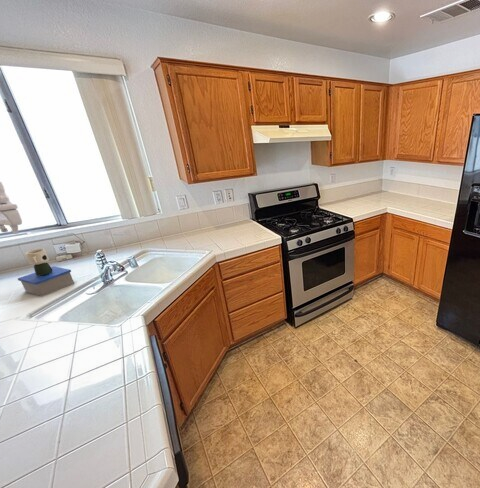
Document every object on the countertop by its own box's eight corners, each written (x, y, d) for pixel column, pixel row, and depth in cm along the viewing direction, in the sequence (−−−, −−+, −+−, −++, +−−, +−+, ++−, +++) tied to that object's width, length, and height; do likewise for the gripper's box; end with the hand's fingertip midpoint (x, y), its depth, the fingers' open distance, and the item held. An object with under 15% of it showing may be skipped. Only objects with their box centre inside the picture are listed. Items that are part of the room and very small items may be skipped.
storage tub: (41, 296, 133) (34, 282, 130) (24, 292, 137) (17, 278, 134) (76, 282, 146) (70, 269, 143) (59, 279, 151) (53, 266, 148)
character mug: (51, 275, 136) (41, 252, 132) (32, 279, 133) (21, 256, 128) (56, 268, 145) (47, 246, 140) (38, 271, 141) (28, 249, 136)
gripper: (-25, 205, 125) (-11, 232, 130) (0, 207, 119) (13, 236, 124) (-6, 202, 131) (7, 229, 135) (18, 204, 124) (31, 232, 129)
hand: (10, 232), depth 130 cm, fingers open, 8 cm apart
